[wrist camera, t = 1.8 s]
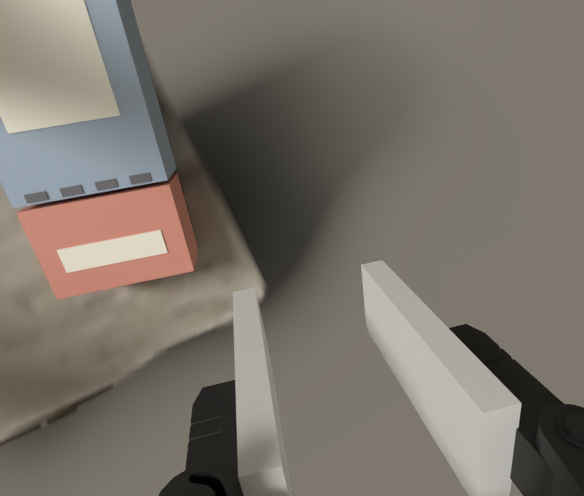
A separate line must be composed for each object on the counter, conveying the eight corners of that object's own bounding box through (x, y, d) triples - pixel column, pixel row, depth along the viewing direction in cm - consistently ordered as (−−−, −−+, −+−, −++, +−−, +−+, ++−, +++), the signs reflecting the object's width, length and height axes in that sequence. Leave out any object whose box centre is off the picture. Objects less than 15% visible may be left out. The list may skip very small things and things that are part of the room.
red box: (79, 273, 28) (56, 300, 24) (46, 196, 25) (15, 213, 22) (198, 249, 28) (193, 271, 25) (177, 173, 26) (169, 185, 22)
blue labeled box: (46, 191, 25) (12, 208, 21) (-60, -58, 20) (-133, -98, 16) (176, 168, 26) (167, 180, 22) (109, -77, 21) (80, -120, 17)
